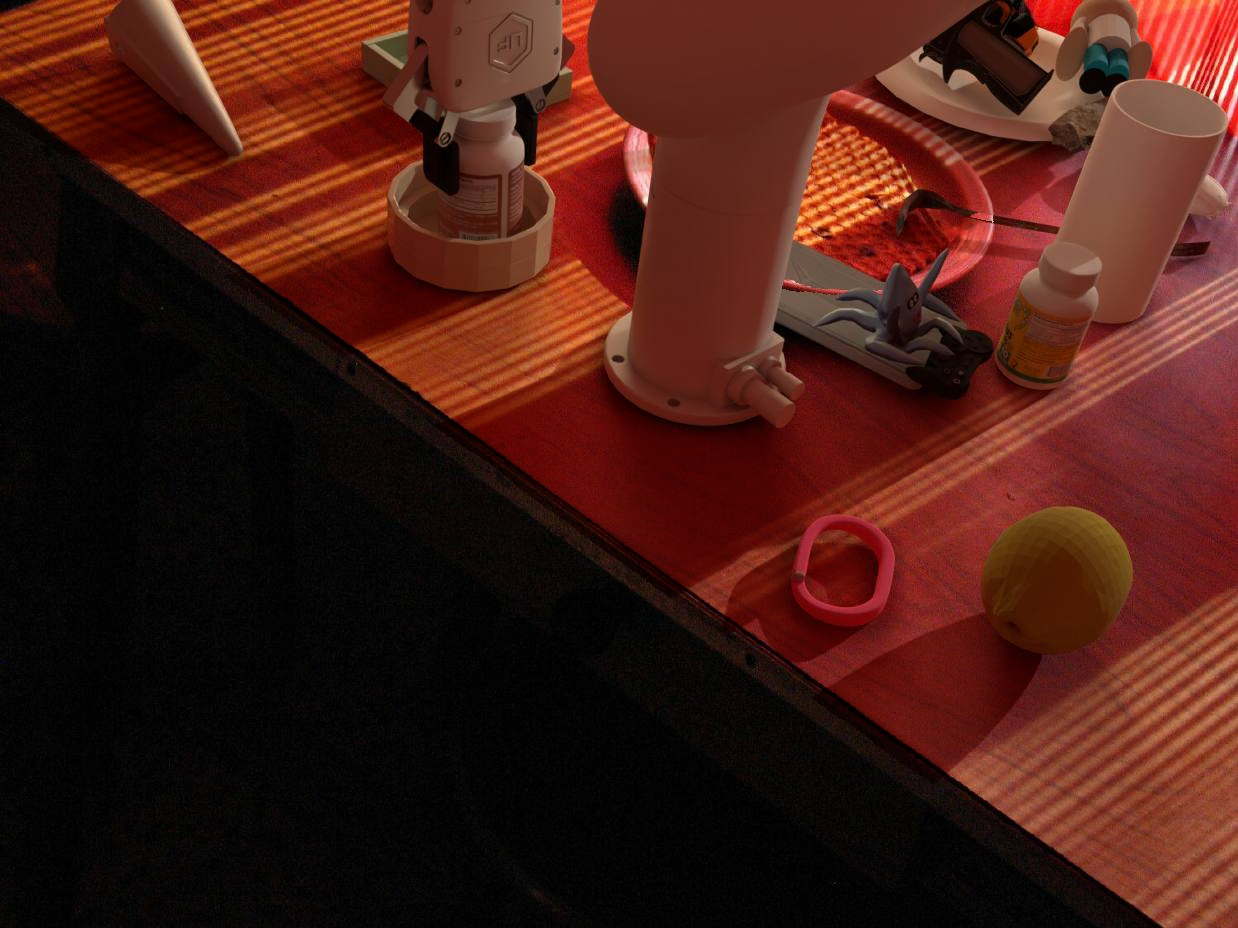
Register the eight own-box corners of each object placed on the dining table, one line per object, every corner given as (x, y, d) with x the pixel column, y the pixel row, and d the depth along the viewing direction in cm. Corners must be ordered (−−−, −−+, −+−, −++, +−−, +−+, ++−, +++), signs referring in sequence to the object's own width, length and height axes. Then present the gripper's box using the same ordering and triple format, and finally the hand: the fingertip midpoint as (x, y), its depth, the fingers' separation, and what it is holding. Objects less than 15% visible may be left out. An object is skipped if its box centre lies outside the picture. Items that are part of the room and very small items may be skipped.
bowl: (583, 260, 104) (588, 210, 101) (455, 316, 98) (456, 263, 95) (484, 187, 110) (486, 137, 107) (357, 234, 104) (355, 182, 100)
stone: (1107, 106, 128) (1109, 76, 126) (1157, 115, 125) (1160, 85, 123) (1030, 155, 121) (1032, 124, 119) (1082, 166, 118) (1084, 134, 116)
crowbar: (902, 213, 109) (899, 180, 113) (894, 237, 111) (892, 204, 115) (1225, 268, 109) (1212, 233, 113) (1212, 292, 111) (1200, 257, 115)
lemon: (1034, 548, 87) (1077, 455, 81) (1137, 628, 83) (1189, 536, 77) (920, 624, 81) (958, 529, 76) (1025, 713, 77) (1072, 620, 72)
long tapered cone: (296, 97, 109) (168, -20, 117) (224, 127, 106) (99, 5, 114) (303, 154, 114) (180, 37, 122) (235, 185, 111) (113, 63, 119)
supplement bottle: (1058, 401, 98) (1105, 291, 91) (985, 376, 99) (1026, 265, 92) (1072, 360, 101) (1118, 251, 95) (1001, 336, 103) (1042, 227, 96)
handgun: (1117, -51, 127) (995, -95, 130) (1031, 110, 122) (906, 61, 125) (1111, -33, 129) (991, -76, 132) (1026, 126, 125) (904, 78, 128)
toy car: (1113, 151, 125) (1126, 117, 122) (1234, 211, 119) (1249, 177, 117) (1084, 169, 122) (1096, 135, 120) (1206, 232, 117) (1221, 197, 114)
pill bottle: (489, 210, 106) (492, 76, 99) (537, 248, 103) (545, 113, 95) (421, 234, 103) (419, 97, 95) (468, 274, 100) (470, 136, 92)
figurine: (832, 301, 102) (871, 208, 98) (983, 371, 100) (1030, 279, 96) (794, 349, 95) (835, 251, 90) (956, 426, 92) (1006, 329, 88)
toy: (1071, 37, 123) (1070, -28, 134) (1048, 98, 127) (1049, 30, 138) (1165, 59, 122) (1157, -8, 133) (1139, 119, 127) (1133, 49, 137)
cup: (1146, 275, 111) (1226, 94, 100) (1146, 334, 105) (1232, 148, 94) (1043, 251, 112) (1112, 69, 101) (1038, 308, 106) (1110, 121, 95)
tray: (570, 98, 122) (573, 71, 120) (455, 137, 115) (456, 109, 113) (475, 35, 129) (476, 9, 127) (361, 69, 122) (361, 41, 120)
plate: (849, 121, 124) (853, 104, 123) (872, 6, 142) (876, -10, 141) (1129, 179, 122) (1136, 162, 121) (1117, 54, 140) (1123, 38, 139)
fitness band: (805, 517, 86) (810, 500, 85) (897, 543, 86) (903, 526, 85) (780, 612, 81) (785, 595, 80) (878, 640, 80) (884, 623, 79)
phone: (728, 284, 102) (726, 298, 103) (921, 381, 96) (916, 394, 97) (786, 235, 107) (783, 249, 107) (973, 324, 101) (968, 338, 101)
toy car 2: (904, 66, 129) (906, 90, 132) (1038, 58, 126) (1037, 84, 129) (912, -27, 135) (914, -2, 137) (1041, -36, 131) (1040, -10, 134)
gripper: (407, -29, 80) (412, 234, 92) (627, -86, 90) (605, 159, 102) (334, -73, 84) (348, 185, 96) (552, -124, 93) (540, 117, 105)
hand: (480, 170), depth 99 cm, fingers closed on pill bottle, 6 cm apart
